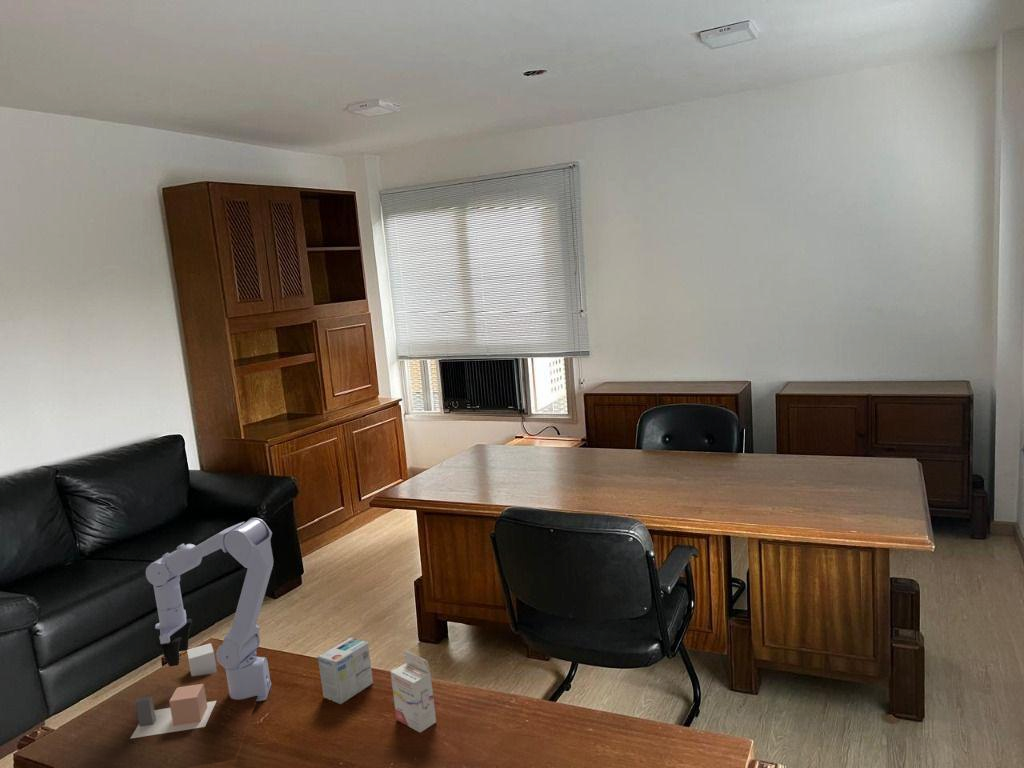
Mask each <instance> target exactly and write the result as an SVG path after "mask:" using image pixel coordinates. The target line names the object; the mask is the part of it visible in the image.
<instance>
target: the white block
mask: <svg viewBox="0 0 1024 768" xmlns="http://www.w3.org/2000/svg"><path fill="white" fill-rule="evenodd" d="M186 652H187V658H188V665H189V672H190V675H191V677H196V676H197V677H198V676H203V675H204V676H205V675H210V674H217V673H218V669H217V664H216V657H215V656H216V655H215V652H214V648H213V645H212V643H207V644H203V645H199V646H195V647H193V648H189V649H187V650H186Z"/></svg>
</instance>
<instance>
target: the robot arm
mask: <svg viewBox="0 0 1024 768" xmlns="http://www.w3.org/2000/svg"><path fill="white" fill-rule="evenodd" d="M272 535H273V532H272V530H271V529H270V527H269V526H268V525H267V523H266V522H265V521H264V520H263V519H261V518H258V517H251V518H249V519H248V520H247V521H241V522H239V523H237V524H234V525H232V526H230V527H227V528H225V529H223V530H222V531H220V532H218V533H216V534H214V535H213V536H210V537H209V538H207V539H206V540H204V541H202V542H200V543H199V544H197V545H195V544H192V543H187V544H185V543H181V544H179V545H178V546H177V547H176V549H175V550H174V551H171V552H170V553H169V552H166V553H165V554H163V555H162V557H160V558H158V559H156V560H155V561H153V562H151V563H150V564H149V565H147V567H146V569H145V577H146V579H147V581H148V582H149V584H151V585H153V591H154V598H155V603H156V609H157V614H158V615H157V616H158V621H159V622H158V623H156V624H155V626H154V627H155V629H156V630H159V631H160V632H159V633H160V634H159V638H157V639H156V641H155V647H156V648H157V649H159V650H160V652H161V653H162V655H163V657H164V660H166V662H167V664H168V666H169V667H175V666H179V664H180V652H185V651H186V652H187V650H188V648H189V639H190V630H191V626H192V623H193V619H192V618H187V612H186V609H184V603H183V599H182V598H183V597H182V591H181V585H180V582H181V575H183V574H185V573H186V572H188V571H190V570H193V569H195V568H196V567H198V566H199V565H201V563H202V560H203V557H206V556H209V555H210V554H212V553H214V552H217V551H218V550H222V552H223V553H224V554H225V553H229V555H231V556H232V557H233V558H234V559H235V560H236V561H237V562H238V563H239V564H240V565H241V566H243V567H244V568H247V570H246V573H245V577H244V581H243V584H242V588H241V593H240V595H239V599H238V602H237V603H238V604H237V606H236V610H235V612H234V613H235V615H234V617H233V622H232V624H231V626H230V629H228V631H227V633H226V634H225V636H224V637H223V641H222V643H221V644H220V645H219V646H218V647H217V649H216V654H215V656H216V657H215V658H216V660H217V661H218V663H219V665H221V666H222V667H223V669H225V674H226V681H227V688H228V693H229V698H231V699H233V700H244V699H245V700H246V699H248V698H252V697H256V696H257V697H256V699H255V702H256V703H257V702H262V701H263V702H264V701H266V700H267V698H268V695H269V692H270V689H271V686H272V682H271V681H272V680H271V676H270V669H269V662H268V659H267V657H265V656H257V649H258V648H259V647H260V643H261V638H260V630H261V627H260V626H259V625H258V624H257V623H258V620H259V617H260V612H261V609H262V605H263V601H264V599H265V595H266V592H267V588H268V584H269V582H270V581H269V580H270V577H271V574H272V571H273V567H274V556H273V549H272V545H271V544H272V542H271V538H272Z"/></svg>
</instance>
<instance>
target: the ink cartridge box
mask: <svg viewBox="0 0 1024 768" xmlns="http://www.w3.org/2000/svg"><path fill="white" fill-rule="evenodd" d="M404 654H405V660H406V663H404V664H402V665H400V666H399V667H396V668H395V669H393V670H391V671H390V679H391V686H392V695H393V704H394V711H395V719H396V721H398V722H400V723H402V724H404V725H405V726H407V727H409V728H411V729H413V730H414V731H416V732H418V733H423V732H424V731H425V730H427V729H428V728H429V727H431V726H433V725H434V724H435V723H436V722H437V718H436V708H435V702H434V701H435V700H434V691H433V684H432V675H431V670H430V666H429V661H428V660H427V659H424V658H422V657H421V656H419V655H416V654H415V653H412V652H409V651H407V650H405V651H404ZM415 660H417V661H418V662H417V661H415Z"/></svg>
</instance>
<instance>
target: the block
mask: <svg viewBox="0 0 1024 768" xmlns="http://www.w3.org/2000/svg"><path fill="white" fill-rule="evenodd" d="M207 702H208V701H207V695H206V690H205V684H204V683H200V684H198V683H197V684H192V685H191V684H190V685H186V686H185V685H184V686H179V687H177V688H176V689H175V690H174V692H173V693H172V696H171V697H170V699H169V701H168V703H169V708H170V709H171V715H172V721H173V726H176V725H182V724H189V723H195V722H201V720H202V718H203V716H204V714H205V712H206V709H207Z"/></svg>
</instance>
